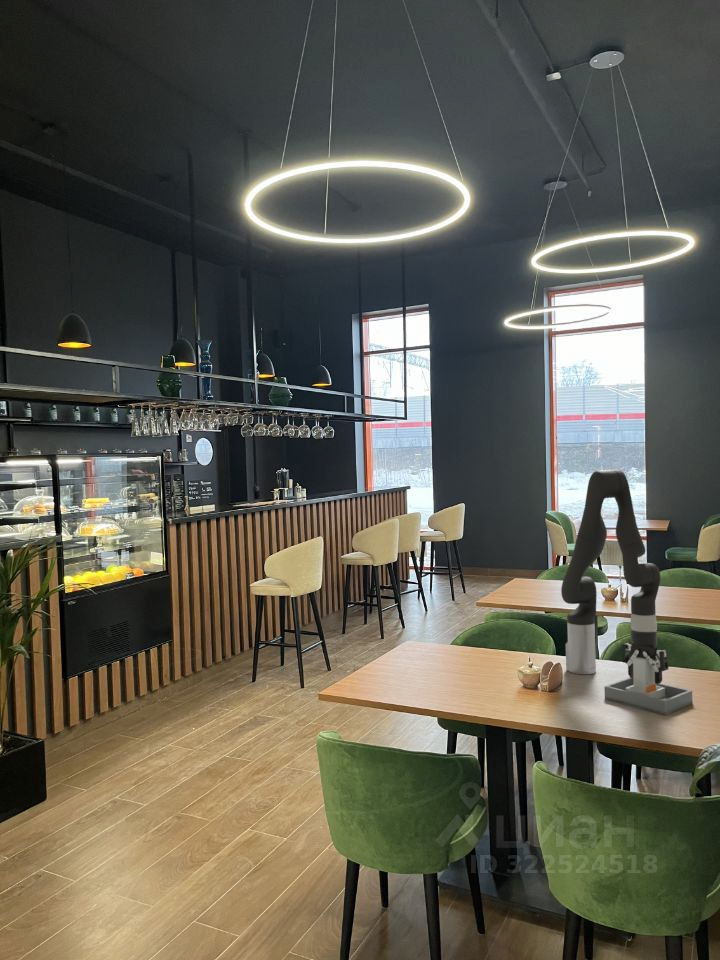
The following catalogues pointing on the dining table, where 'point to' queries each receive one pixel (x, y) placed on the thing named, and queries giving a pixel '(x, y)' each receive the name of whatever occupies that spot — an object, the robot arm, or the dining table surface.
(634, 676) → the skincare box
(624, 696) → the walled box
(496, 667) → the dining table surface
